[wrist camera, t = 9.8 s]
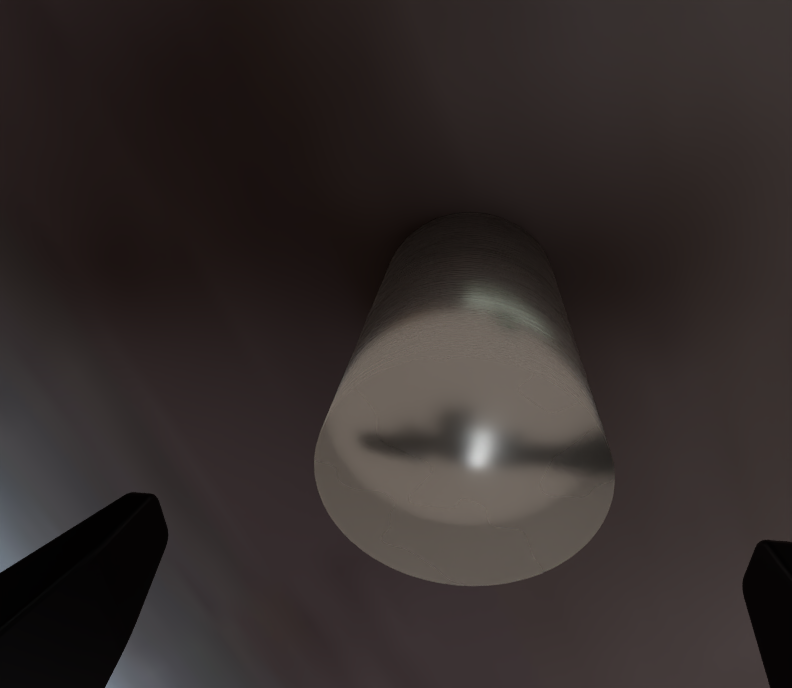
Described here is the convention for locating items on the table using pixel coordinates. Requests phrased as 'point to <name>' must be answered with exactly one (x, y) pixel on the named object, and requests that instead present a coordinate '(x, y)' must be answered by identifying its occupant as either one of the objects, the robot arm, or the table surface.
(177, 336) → the table surface
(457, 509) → the gray cylinder
